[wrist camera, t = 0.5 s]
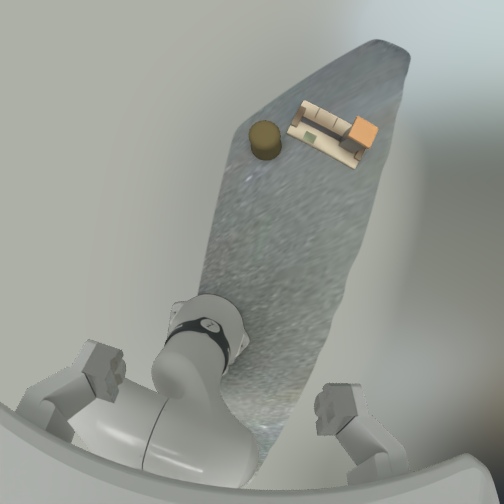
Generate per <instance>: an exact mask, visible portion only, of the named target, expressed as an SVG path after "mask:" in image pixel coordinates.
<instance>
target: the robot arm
mask: <svg viewBox="0 0 504 504" xmlns="http://www.w3.org/2000/svg"><path fill="white" fill-rule="evenodd" d="M175 311H177V312H175ZM249 342H250V339H249V337H248V335H247V333H246V332H245V330H244V327H243V321H242V317H241V315H240V313H239V311H238V310H237V309H236V307H235V306H234V305H233V304H232V303H230V302H229V301H228V300H226V299H224V298H222V297H219V296H216V295H210V294H205V295H199V296H196V297H194V298H192V299H190V300H188V301H181V302H176V303H174V304H173V306H172V310H171V317H170V323H169V329H168V336H167V340H166V342H165V346H164V348H163V349H162V351H161V352H160V353H159V355H158V356H157V358H156V359H155V361H154V363H153V366H152V379H153V382H154V385H155V388H156V390H157V392H158V393H157V392H155V391H152V390H150V389H148V388H146V387H143V386H141V385H139V384H137V383H135V382H132V381H131V380H129V379H127V378H125V373H126V364H125V361H124V360H123V359H122V357H123V352H122V350H120V349H117V348H114V347H111V346H108V345H105V344H102V343H99V342H96V341H93V340H90V339H88V340H87V341H86V342H85V343H84V345H83V347H82V349H81V350H80V352H79V354H78V356H77V357H76V359H75V361H74V363H73V364H72V366H71V368H70V367H66V368H64V369H63V370H61V371H59V372H57V373H55V374H53V375H51V376H50V377H48V378H46V379H44V380H42V381H40V382H38V383H37V384H35V385H33V386H31V387H29V388H27V390H26V392H25V394H24V396H23V398H22V399H21V401H20V403H19V405H18V407H17V409H16V411H15V412H14V411H13V410H11V409H10V408H8V407H7V406H5V405H4V404H2V403H1V402H0V504H499V500H498V496H497V492H496V489H495V485H494V482H493V479H492V477H491V474H490V472H489V470H488V469H487V468H486V466H485V465H484V464H482V463H481V462H480V461H479V460H477V459H476V458H475V457H473V456H472V455H470V454H467V453H465V454H461V455H459V456H456V457H454V458H452V459H449V460H447V461H444V462H441V463H438V464H436V465H432V466H429V467H426V468H423V469H420V470H417V471H413V472H410V469H409V464H408V460H407V456H406V452H405V448H404V447H403V446H402V445H401V444H400V443H399V442H398V441H397V440H396V439H395V438H394V437H393V436H392V435H391V434H390V433H389V432H388V431H387V430H386V429H385V428H384V427H383V426H382V425H381V424H380V423H379V422H378V421H377V420H376V419H375V418H374V417H373V416H370V415H369V412H368V408H367V404H366V400H365V396H364V392H363V388H362V386H361V385H360V384H348V383H341V384H340V383H327V384H325V385H324V386H323V392H321V393H319V394H318V396H317V397H316V400H315V404H314V410H315V414H316V415H317V416H318V420H317V421H316V428H317V435H324V436H326V435H336V438H337V439H338V440H339V442H340V443H341V445H342V446H343V447H344V449H345V450H346V452H347V453H348V454H349V455H350V457H351V458H352V460H353V461H354V462H355V463H356V465H357V467H355V468H353V469H352V470H350V471H349V472H348V473H347V480H348V486H341V487H333V488H321V489H307V490H253V489H239V488H241V487H242V486H244V485H245V484H246V483H247V482H248V481H249V480H250V479H251V478H252V476H253V475H254V473H255V471H256V469H257V467H258V463H259V447H258V443H257V440H256V438H255V436H254V434H253V433H252V431H251V430H250V429H248V428H247V427H246V426H244V425H243V424H242V423H241V422H240V421H239V420H237V419H236V418H235V416H234V415H233V414H232V413H231V412H230V410H229V409H228V407H227V406H226V404H225V402H224V401H223V399H222V396H221V393H220V383H221V377H222V375H223V376H224V375H225V374H226V373H227V372H228V370H229V367H228V366H229V365H232V364H233V363H234V361H235V360H234V359H235V358H236V357H237V356H238V355H239V354H240V353H241V352H242V351H243V350H244V349H245V348H246V347H247V346H248V345H249ZM242 344H243V345H242ZM67 421H68V422H67ZM74 430H75V431H74ZM75 432H76V433H77V434H78V435H79V436H80V438H81V439H82V440H83V442H84V443H85V444H86V446H87V448H88V449H89V451H90V452H88V451H86V450H84V449H82V448H79V447H77V446H75V445H73V444H71V442H72V439H73V436H74V433H75Z"/></svg>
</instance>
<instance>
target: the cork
mask: <svg viewBox="0 0 504 504" xmlns="http://www.w3.org/2000/svg"><path fill="white" fill-rule="evenodd" d="M280 137H281V135H280V130H279V128H278V127H277V126H276V125H275V124H274V123H272V122H270V121H266V120H264V121H259V122H256V123H255V124H254V125H253V126H252V127H251V129H250V131H249V140H250V142H251V150H252V152H253V154H254V155H255V156H256V157H257V158H259V159H261V160H271V159H274V158H275V157H277V156H278V155H279V153H280V151H281V148H282V145H281V141H280Z"/></svg>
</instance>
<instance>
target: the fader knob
mask: <svg viewBox="0 0 504 504" xmlns="http://www.w3.org/2000/svg"><path fill="white" fill-rule="evenodd" d="M378 129H379V128H377V127H376V126H374V125H372V124H371V123H369V122H367V121H366V120H364V119H362V118H361V117H359V116H357V117H356V119H355V121H354V123H353V125H352V126H351V127H350V128H349V129H347V130H346V131H345V132H344V134H343V136H342V138H341V140H340V143H339V145H338V146H340V147H342V148H344V149H345V150H347V151H349V152H351V153H354V152H356V151H358V150H360V149H362V148H364V147H366V148H367V149H369V148H370V147H371V145H372V142H373V140H374V138H375V136H376V133H377V131H378Z"/></svg>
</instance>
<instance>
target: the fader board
mask: <svg viewBox="0 0 504 504" xmlns="http://www.w3.org/2000/svg"><path fill="white" fill-rule="evenodd" d="M351 126H352V125H351V124H349V123H347V122H346V121H344V120H342V119H340V118H338V117H337V116H335V115H333V114H331V113H329V112H327V111H325V110H323V109H321V108H319V107H317V106H315V105H313V104H311V103H309V102H307V101H305V100H304V101H303V103H302V105H301V106H300V108H299V110H298V111H297V113H296V115H295V117H294V119H293V121H292V123H291V126H290V127H289V129H288V131H287V134H288V135H290V136H292V137H294V138H296V139H298V140H300V141H302V142H304V143H306V144H308V145H310V146H312V147H314V148H316V149H317V150H319V151H321V152H323V153H325V154H327V155H329V156H330V157H332V158H334V159H336V160H338V161H339V162H341V163H343V164H345V165H346V166H348V167H350V168H352V169H355V168H356V166H357V164H358V161H360V160H361V158H362V155H363V153H364V151H365V149H366V147H364V148H362V149H360V150H358V151H356V152H354V153H351V152H349V151H347V150H345V149H344V148H342V147H340V146H338V145H339V143H340V140H341V138H342V136H343V134H344V132H345V131H346V130H347V129H349V128H350V127H351Z"/></svg>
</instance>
